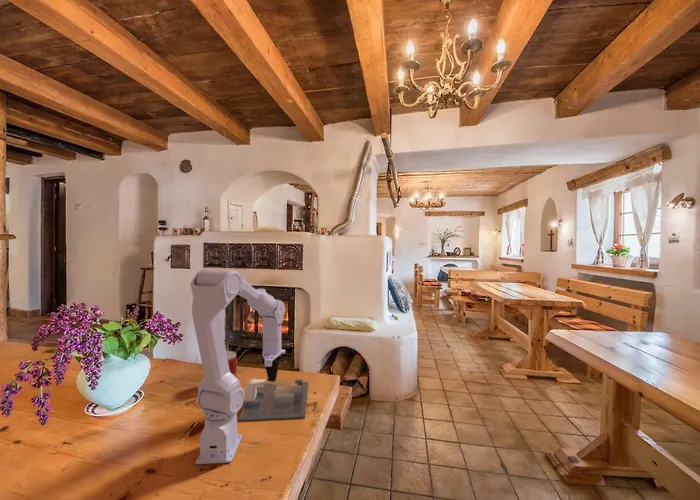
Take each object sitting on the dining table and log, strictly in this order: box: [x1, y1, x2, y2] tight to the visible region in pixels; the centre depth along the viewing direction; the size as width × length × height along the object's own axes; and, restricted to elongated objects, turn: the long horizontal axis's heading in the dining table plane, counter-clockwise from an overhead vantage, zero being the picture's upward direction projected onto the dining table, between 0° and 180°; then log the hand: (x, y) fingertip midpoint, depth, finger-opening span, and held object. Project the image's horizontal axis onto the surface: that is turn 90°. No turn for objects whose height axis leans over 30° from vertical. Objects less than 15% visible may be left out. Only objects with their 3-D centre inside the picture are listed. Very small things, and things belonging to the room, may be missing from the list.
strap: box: [265, 377, 300, 389], centre depth 94 cm, size 3×10×1 cm, turn 95°
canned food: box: [226, 350, 237, 378], centre depth 105 cm, size 8×8×11 cm
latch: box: [244, 378, 267, 402], centre depth 93 cm, size 5×5×5 cm
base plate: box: [238, 378, 309, 422], centre depth 94 cm, size 20×19×6 cm
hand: (272, 379), depth 93 cm, fingers closed, pressing on strap
